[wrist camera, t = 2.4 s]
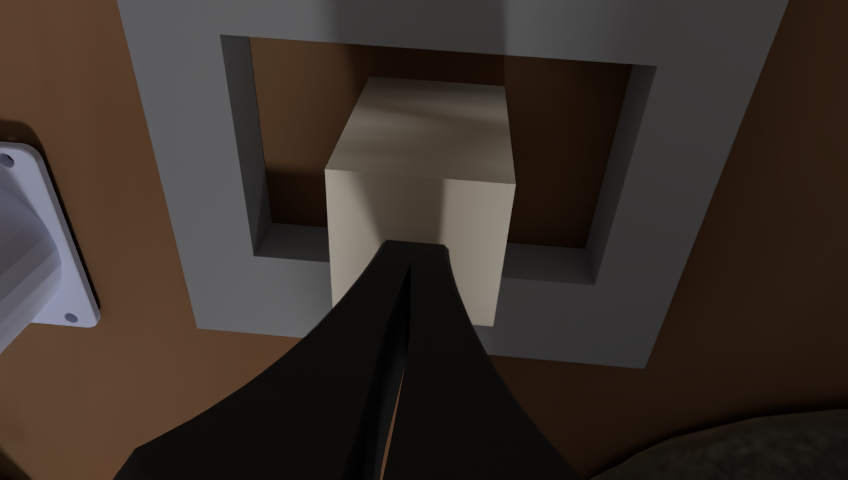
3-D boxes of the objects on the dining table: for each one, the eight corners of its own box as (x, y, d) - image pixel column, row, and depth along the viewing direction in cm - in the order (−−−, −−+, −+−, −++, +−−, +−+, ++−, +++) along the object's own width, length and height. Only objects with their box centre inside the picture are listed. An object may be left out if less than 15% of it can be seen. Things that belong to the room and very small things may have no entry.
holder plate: (218, 292, 22) (197, 328, 20) (128, -139, 14) (83, -137, 12) (632, 329, 22) (644, 369, 20) (782, -99, 14) (824, -92, 12)
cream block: (370, 193, 19) (333, 312, 14) (369, 75, 17) (324, 168, 12) (488, 202, 19) (493, 326, 14) (504, 86, 17) (515, 184, 12)
